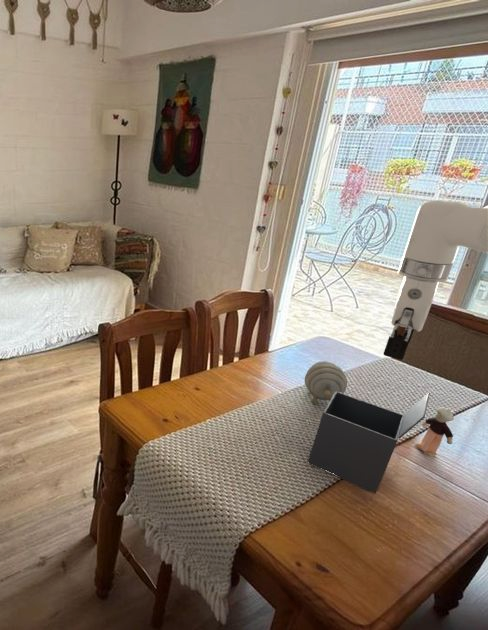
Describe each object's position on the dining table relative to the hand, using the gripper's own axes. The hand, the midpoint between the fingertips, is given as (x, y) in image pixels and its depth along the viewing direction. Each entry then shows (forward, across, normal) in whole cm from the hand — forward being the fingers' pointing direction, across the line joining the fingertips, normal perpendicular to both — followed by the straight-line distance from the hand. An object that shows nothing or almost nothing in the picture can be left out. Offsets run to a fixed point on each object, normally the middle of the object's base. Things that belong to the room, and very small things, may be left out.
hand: (396, 348), depth 89 cm
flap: (+13, 0, -6) cm, 15 cm away
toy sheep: (+31, +26, +14) cm, 43 cm away
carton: (+31, 0, +2) cm, 31 cm away
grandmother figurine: (+32, +19, -12) cm, 39 cm away
